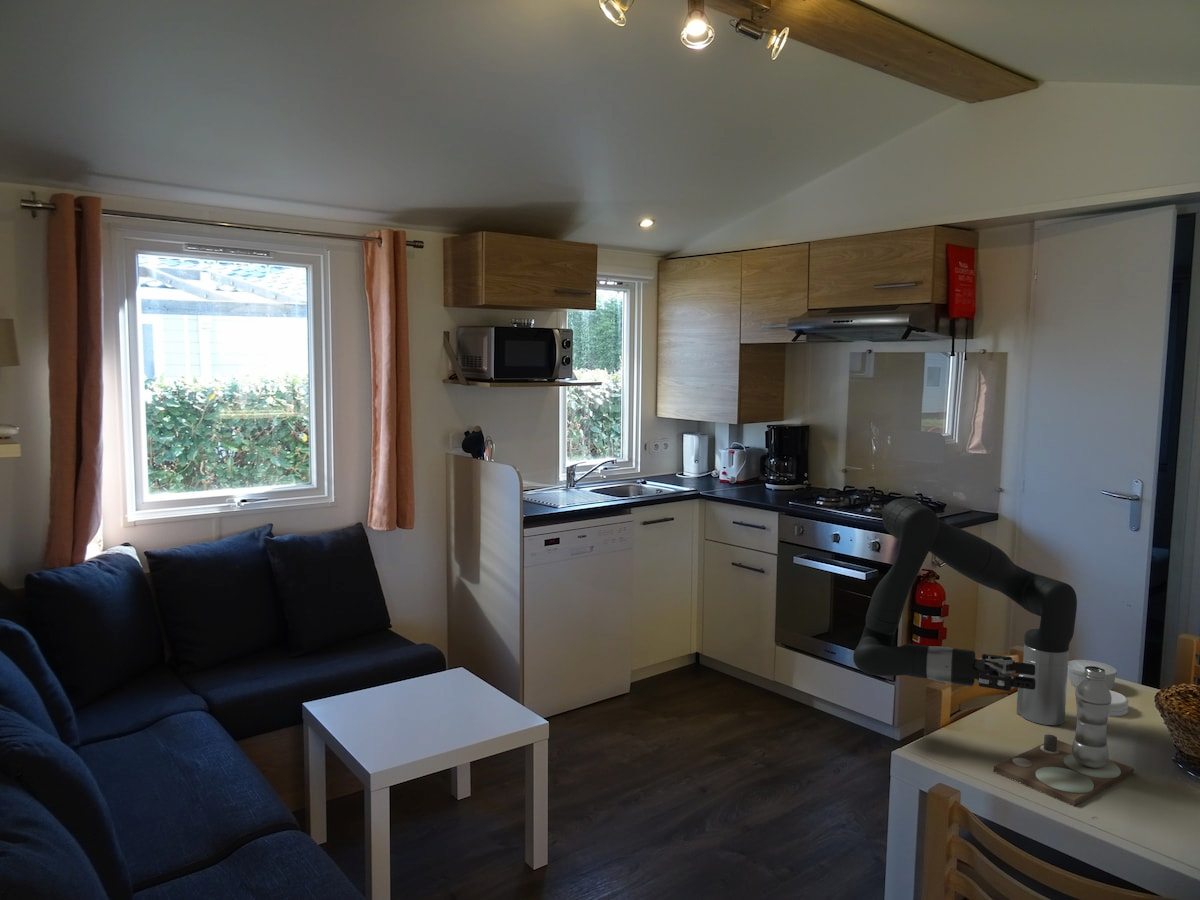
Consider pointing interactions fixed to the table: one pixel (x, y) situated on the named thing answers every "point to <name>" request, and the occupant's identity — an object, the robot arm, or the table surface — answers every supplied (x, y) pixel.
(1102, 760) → the plastic bottle
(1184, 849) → the table surface
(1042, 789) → the board
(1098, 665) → the ramekin
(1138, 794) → the table surface
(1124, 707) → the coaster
